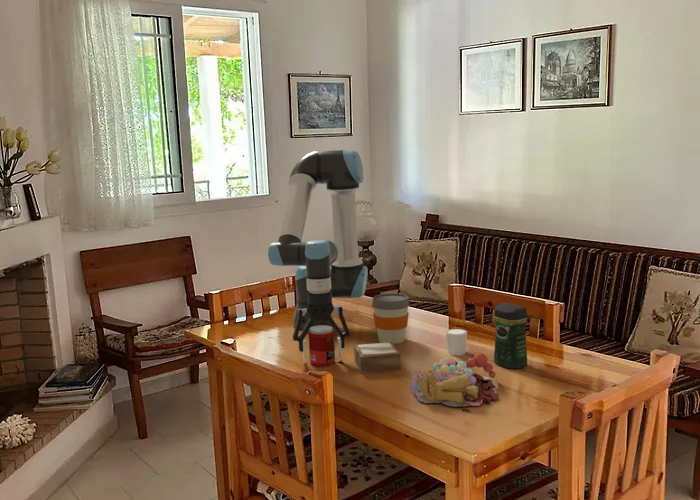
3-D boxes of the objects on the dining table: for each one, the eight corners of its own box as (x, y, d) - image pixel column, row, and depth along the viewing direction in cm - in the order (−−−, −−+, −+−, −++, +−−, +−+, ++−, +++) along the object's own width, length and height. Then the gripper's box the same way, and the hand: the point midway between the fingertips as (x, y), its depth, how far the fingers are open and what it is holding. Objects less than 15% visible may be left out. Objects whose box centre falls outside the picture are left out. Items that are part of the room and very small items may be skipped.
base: (354, 360, 215) (353, 344, 214) (391, 357, 217) (391, 341, 216) (361, 373, 203) (360, 356, 202) (400, 369, 205) (400, 352, 204)
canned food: (332, 366, 210) (330, 332, 208) (307, 366, 212) (305, 331, 210) (337, 358, 217) (336, 325, 216) (313, 358, 219) (311, 324, 217)
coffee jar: (531, 365, 205) (532, 305, 201) (513, 371, 200) (513, 309, 197) (507, 357, 212) (507, 299, 209) (489, 363, 208) (489, 303, 205)
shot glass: (469, 350, 221) (469, 329, 220) (464, 357, 215) (464, 335, 213) (449, 348, 224) (449, 327, 222) (443, 354, 217) (442, 333, 216)
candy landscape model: (501, 411, 173) (501, 376, 172) (408, 408, 177) (407, 374, 175) (496, 376, 197) (496, 346, 196) (414, 375, 201) (414, 344, 200)
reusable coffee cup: (391, 347, 226) (390, 303, 224) (365, 340, 236) (364, 297, 233) (417, 339, 234) (416, 296, 232) (391, 332, 244) (390, 291, 241)
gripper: (282, 296, 205) (286, 366, 209) (358, 290, 209) (360, 360, 212) (281, 290, 213) (284, 359, 216) (354, 285, 216) (356, 352, 220)
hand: (322, 359), depth 214 cm, fingers open, 10 cm apart
